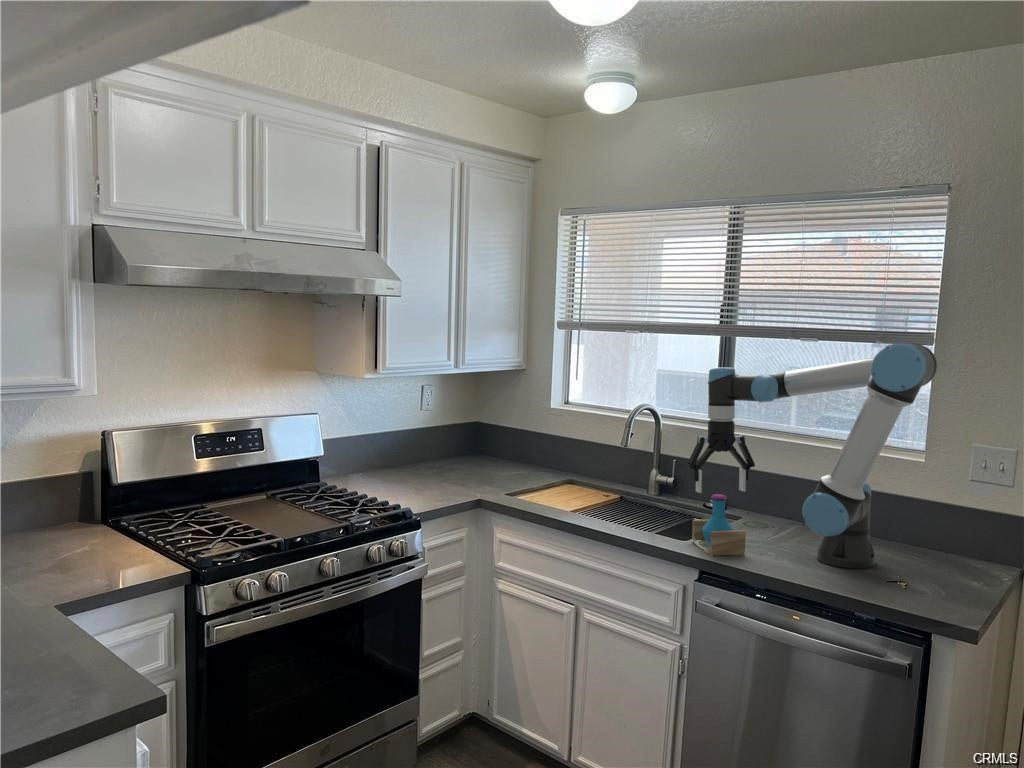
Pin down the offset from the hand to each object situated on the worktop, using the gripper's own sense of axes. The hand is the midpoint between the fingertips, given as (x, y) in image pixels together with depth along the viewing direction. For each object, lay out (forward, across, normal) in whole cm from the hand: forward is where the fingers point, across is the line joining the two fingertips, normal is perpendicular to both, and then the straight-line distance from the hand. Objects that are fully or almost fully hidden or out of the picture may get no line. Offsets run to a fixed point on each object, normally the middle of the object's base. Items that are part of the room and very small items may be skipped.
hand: (720, 491), depth 223 cm
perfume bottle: (+16, 0, 0) cm, 16 cm away
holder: (+17, 0, -1) cm, 17 cm away
